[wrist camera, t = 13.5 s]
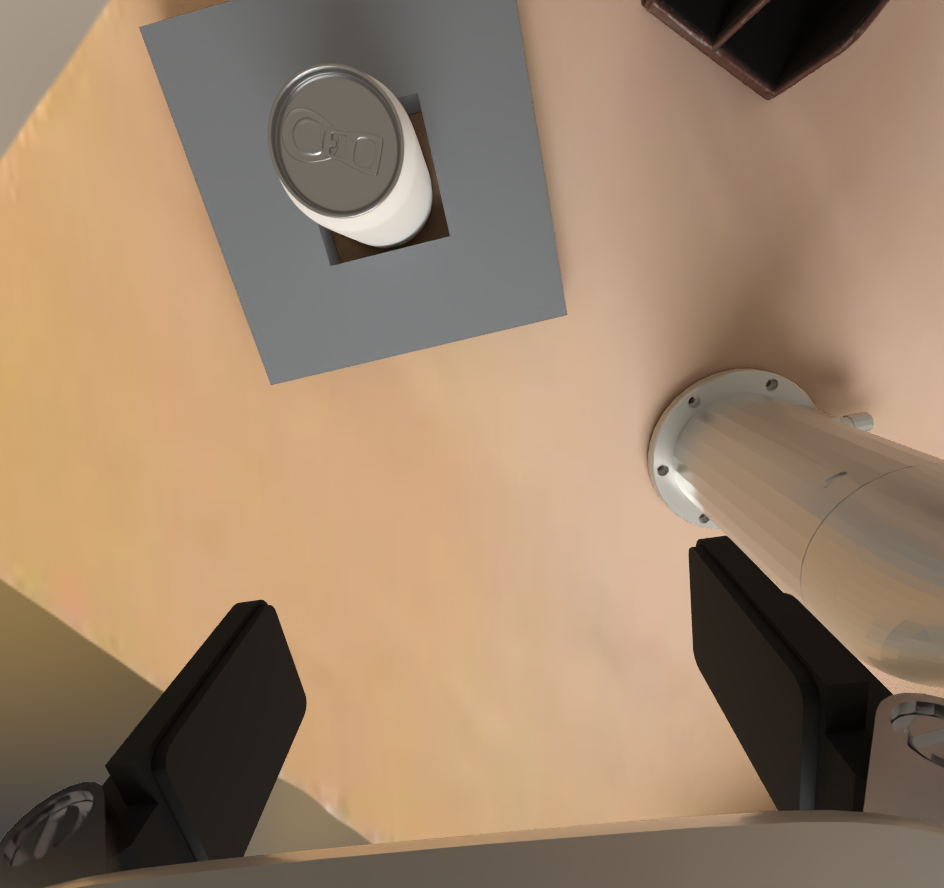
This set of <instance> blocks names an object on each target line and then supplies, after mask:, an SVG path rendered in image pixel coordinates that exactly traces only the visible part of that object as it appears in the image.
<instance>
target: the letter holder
mask: <svg viewBox="0 0 944 888" xmlns="http://www.w3.org/2000/svg"><path fill="white" fill-rule="evenodd" d="M889 1H890V0H642V1H641V2H642V5H643V6H644V7H645V8H646V9H647V10H648V11H649V12H651V13H652V14H653V15H655V16H656V17H657V18H658V19H660V20H661V21H662V22H664V23H665V24H666V25H667V26H669V27H670V28H672V29H673V30H674V31H675V32H676V33H678V34H679V35H680V36H682V37H683V38H685V39H686V40H687V41H689V42H690V43H691V44H692V45H694V46H695V47H697V48H698V49H699V50H700V51H702V52H703V53H704V54H706V55H707V56H709V57H710V58H711V59H712V60H713V61H715V62H717V63H718V64H719V65H720V66H722V67H723V68H725V69H726V70H727V71H729V72H730V73H731V74H732V75H734V76H735V77H736V78H738V79H739V80H741V81H742V82H743V83H744V84H745V85H747V86H749V87H750V88H752V89H753V90H754V91H755V92H757V93H758V94H759V95H761V96H762V97H764V98H765V99H767V100H770V99H772V98H774V97H776V96H777V95H779V94H781V93H783V92H784V91H785V90H787V89H788V88H790V87H791V86H793V85H795V84H796V83H797V82H799V81H800V80H802V79H803V78H804V77H806V76H808V75H809V74H811V73H812V72H814V71H815V70H817V69H818V68H820V67H821V66H822V65H824V64H825V63H827V62H829V61H831V60H832V59H833V58H835V57H837V56H838V55H840V54H841V53H842V52H844V51H845V50H846V49H847V48H848V47H850V46H851V45H852V44H853V43H854V42H855V41H856V40H857V39H858V38H859V37H860V36H861V35H862V34H863V33H864V32H865V30H866V29H867V28H868V27H869V26H870V25H871V23H872V22H873V21H874V20H875V18H876V17H877V16H878V15H879V14H880V12H881V11H882V10H883V9H884V7H885V6H886V5H887V4H888V2H889Z"/></svg>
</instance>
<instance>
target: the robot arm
mask: <svg viewBox="0 0 944 888" xmlns="http://www.w3.org/2000/svg"><path fill="white" fill-rule="evenodd" d="M766 383H767V384H766ZM691 397H692V400H691V402H689V399H690V398H691ZM873 425H874V423H873V419H872V417H871V415H870V414H868V413H867V412H860V413H855V414H850V415H846V416H843V417H841V418H839V417H836V416H833V415H830V414H828V413H825V412H822V411H819V410H816V408H815V405H814V403H813V402H812V401H811V399H810V398H809V396H808V395H807V394H806V392H805V391H804V390H802V389H801V388H800V387H799V386H798V385H797V384H795V383H794V382H792V381H790V380H789V379H787V378H785V377H783V376H781V375H778V374H775V373H771V372H768V371H764V370H757V369H751V368H747V369H731V370H727V371H723V372H718V373H715V374H713V375H710V376H708V377H706V378H703V379H701V380H699V381H698V382H696V383H694V384H693V385H691V386H690V387H688V388H687V389H685V390H684V391H683V392H682V393H681V394H680V395H679V396H677V397H676V398H675V399H674V400H673V401H672V402H671V404H670V405H669V406H668V407H667V409H666V410H665V411H664V412H663V414H662V415H661V417H660V419H659V421H658V423H657V424H656V426H655V428H654V431H653V434H652V437H651V440H650V444H649V451H648V469H649V475H650V478H651V482H652V485H653V487H654V489H655V491H656V492H657V494H658V496H659V497H660V499H661V500H662V501H663V502H664V503H665V505H666V506H667V507H668V508H669V509H670V510H671V511H673V512H674V513H675V514H676V515H677V516H678V517H680V518H682V519H684V520H685V521H687V522H689V523H691V524H694V525H697V526H699V527H703V528H711V529H720V530H721V531H722V532H723V533H725V534H726V535H727V536H720V537H713V538H705V539H699V540H698V541H697V544H696V547H691V548H690V549H689V572H690V592H691V613H692V634H693V651H694V656H695V660H696V663H697V666H698V668H699V670H700V671H701V673H702V675H703V677H704V679H705V680H706V682H707V684H708V686H709V688H710V689H711V691H712V693H713V695H714V697H715V698H716V700H717V702H718V704H719V706H720V707H721V709H722V711H723V713H724V714H725V716H726V718H727V720H728V722H729V723H730V725H731V727H732V729H733V731H734V732H735V734H736V736H737V738H738V740H739V741H740V743H741V745H742V747H743V749H744V750H745V752H746V754H747V756H748V757H749V759H750V761H751V763H752V765H753V766H754V768H755V770H756V772H757V774H758V775H759V777H760V779H761V781H762V783H763V784H764V786H765V788H766V790H767V791H768V793H769V795H770V797H771V799H772V800H773V802H774V804H775V806H776V808H777V809H778V811H766V812H751V813H736V814H721V815H706V816H691V817H676V818H663V819H651V820H640V821H628V822H616V823H605V824H593V825H581V826H569V827H558V828H546V829H534V830H523V831H512V832H501V833H490V834H479V835H468V836H457V837H445V838H434V839H424V840H413V841H402V842H391V843H381V844H370V845H360V846H349V847H338V848H328V849H319V850H308V851H298V852H288V853H278V854H267V855H257V856H247V857H243V856H244V853H245V851H246V849H247V847H248V844H249V842H250V840H251V837H252V835H253V833H254V830H255V828H256V826H257V824H258V821H259V819H260V817H261V814H262V812H263V810H264V807H265V805H266V803H267V800H268V798H269V796H270V793H271V791H272V789H273V787H274V784H275V782H276V780H277V777H278V775H279V773H280V770H281V768H282V766H283V763H284V761H285V759H286V756H287V754H288V752H289V749H290V747H291V745H292V743H293V740H294V738H295V736H296V733H297V731H298V729H299V726H300V724H301V722H302V719H303V717H304V714H305V711H306V696H305V693H304V690H303V687H302V684H301V681H300V678H299V676H298V673H297V670H296V667H295V664H294V661H293V659H292V656H291V653H290V650H289V647H288V644H287V642H286V639H285V636H284V633H283V630H282V627H281V625H280V622H279V619H278V616H277V613H276V611H275V609H274V607H273V606H271V605H268V604H267V603H266V602H265V601H264V600H256V601H249V602H241V603H237V604H235V605H234V606H233V607H232V608H231V610H230V611H229V612H228V613H227V615H226V616H225V617H224V618H223V620H222V621H221V622H220V623H219V625H218V626H217V627H216V628H215V630H214V631H213V632H212V633H211V635H210V636H209V637H208V638H207V640H206V641H205V642H204V643H203V645H202V646H201V647H200V648H199V650H198V651H197V652H196V653H195V654H194V656H193V657H192V658H191V659H190V661H189V662H188V663H187V664H186V666H185V667H184V668H183V669H182V671H181V672H180V673H179V674H178V676H177V677H176V678H175V679H174V681H173V682H172V683H171V684H170V686H169V687H168V688H167V689H166V691H165V692H164V693H163V694H162V696H161V697H160V698H159V699H158V700H157V702H156V703H155V704H154V705H153V707H152V708H151V709H150V710H149V712H148V713H147V714H146V716H145V717H144V718H143V719H142V720H141V722H140V723H139V724H138V725H137V727H136V728H135V729H134V730H133V732H132V733H131V734H130V735H129V737H128V738H127V739H126V740H125V741H124V743H123V744H122V745H121V746H120V748H119V749H118V750H117V751H116V753H115V754H114V755H113V756H112V758H111V759H110V760H109V761H108V763H107V764H106V765H105V767H106V768H107V770H108V772H109V774H110V777H109V778H108V779H107V780H106V782H105V783H104V784H103V786H102V785H100V784H98V783H96V782H81V783H78V784H75V785H71V786H69V787H66V788H64V789H62V790H60V791H58V792H56V793H54V794H52V795H51V796H49V797H48V798H46V799H45V800H43V801H42V802H40V803H39V804H37V805H36V806H35V807H34V808H32V809H31V810H30V811H29V812H27V813H26V814H25V815H24V816H23V817H21V818H20V819H19V820H18V822H16V823H15V824H14V825H13V827H12V828H11V829H10V830H9V831H8V832H7V833H6V834H5V836H4V837H3V838H2V840H1V841H0V888H944V698H940V697H936V696H931V695H927V694H919V693H901V694H896V695H893V694H892V693H891V692H890V691H889V690H888V689H887V688H886V687H885V686H884V685H883V684H882V683H881V682H880V681H879V680H878V679H877V678H876V677H875V676H874V675H873V674H872V673H871V672H870V671H869V670H868V669H867V668H866V667H865V666H864V665H863V664H862V663H861V662H860V661H859V660H858V659H857V658H859V659H860V660H862V661H863V662H865V663H867V664H868V665H870V666H872V667H874V668H876V669H878V670H880V671H882V672H884V673H886V674H889V675H891V676H894V677H897V678H900V679H903V680H906V681H910V682H913V683H917V684H921V685H926V686H930V687H936V688H942V689H944V460H942V459H939V458H937V457H934V456H931V455H929V454H926V453H923V452H920V451H918V450H915V449H912V448H909V447H907V446H904V445H901V444H899V443H896V442H893V441H890V440H888V439H885V438H882V437H880V436H877V435H874V434H871V433H869V432H866V431H870V430H871V429H872V428H873ZM659 466H661V468H659ZM658 468H659V469H658ZM753 561H754V562H755V563H756V564H757V565H758V566H759V567H760V568H761V569H762V570H763V571H764V572H765V573H766V574H767V575H768V576H769V577H770V578H771V579H772V580H773V581H774V582H775V583H776V584H777V585H778V586H779V587H780V588H782V589H783V590H784V591H785V592H786V593H783V592H782V591H781V590H780V589H779V588H778V587H777V586H776V585H775V584H774V583H773V582H772V581H771V580H770V579H769V578H768V577H767V576H766V575H765V574H764V573H763V572H762V571H761V570H760V568H759V567H758V566H757V565H756V564H755V563H754V562H753ZM855 656H856V657H857V658H856V657H855Z"/></svg>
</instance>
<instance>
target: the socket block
mask: <svg viewBox="0 0 944 888" xmlns="http://www.w3.org/2000/svg"><path fill="white" fill-rule="evenodd" d="M139 28H140V31H141V34H142V36H143V39H144V42H145V45H146V47H147V50H148V53H149V55H150V58H151V61H152V64H153V66H154V69H155V72H156V74H157V77H158V80H159V83H160V85H161V88H162V91H163V93H164V96H165V99H166V102H167V104H168V107H169V110H170V112H171V115H172V118H173V121H174V123H175V126H176V129H177V131H178V134H179V137H180V140H181V142H182V145H183V148H184V150H185V153H186V156H187V159H188V161H189V164H190V167H191V169H192V172H193V175H194V178H195V180H196V183H197V186H198V188H199V191H200V194H201V197H202V199H203V202H204V205H205V207H206V210H207V213H208V216H209V218H210V221H211V224H212V226H213V229H214V232H215V235H216V237H217V240H218V243H219V245H220V248H221V251H222V254H223V256H224V259H225V262H226V264H227V267H228V270H229V272H230V275H231V278H232V281H233V283H234V286H235V289H236V291H237V294H238V297H239V300H240V302H241V305H242V308H243V310H244V313H245V316H246V319H247V321H248V324H249V327H250V329H251V332H252V335H253V338H254V340H255V343H256V346H257V348H258V351H259V354H260V357H261V359H262V362H263V365H264V367H265V370H266V373H267V376H268V378H269V381H270V384H271V385H274V384H278V383H282V382H286V381H291V380H295V379H299V378H303V377H307V376H312V375H316V374H320V373H324V372H329V371H333V370H337V369H341V368H345V367H350V366H354V365H358V364H362V363H367V362H371V361H375V360H379V359H383V358H388V357H392V356H396V355H400V354H405V353H409V352H413V351H417V350H421V349H426V348H430V347H434V346H438V345H442V344H447V343H451V342H455V341H459V340H464V339H468V338H472V337H476V336H480V335H485V334H489V333H493V332H497V331H502V330H506V329H510V328H514V327H518V326H523V325H527V324H531V323H535V322H540V321H544V320H548V319H552V318H556V317H561V316H565V315H567V310H566V304H565V298H564V292H563V286H562V280H561V273H560V267H559V261H558V255H557V249H556V243H555V237H554V231H553V224H552V218H551V212H550V206H549V200H548V194H547V188H546V182H545V175H544V169H543V163H542V157H541V151H540V145H539V139H538V133H537V126H536V120H535V114H534V108H533V102H532V96H531V90H530V84H529V77H528V71H527V65H526V59H525V53H524V47H523V41H522V35H521V28H520V22H519V16H518V10H517V4H516V0H231V1H228V2H224V3H221V4H217V5H214V6H211V7H207V8H204V9H200V10H197V11H193V12H190V13H186V14H183V15H180V16H176V17H173V18H169V19H166V20H162V21H159V22H155V23H152V24H149V25H145V26H142V27H139ZM323 63H336V64H343V65H347V66H350V67H353V68H355V69H357V70H359V71H361V72H363V73H365V74H367V75H369V76H371V77H373V78H375V79H376V80H378V81H379V82H381V83H382V84H383V85H384V86H386V87H387V88H388V89H389V90H390V91H391V92H392V93H393V94H394V96H395V97H396V98H397V99H398V101H399V102H400V103H401V105H402V106H403V108H404V109H405V111H406V113H407V115H409V114H413V113H416V112H420V111H422V115H423V119H424V124H425V128H426V132H427V137H428V141H429V146H430V150H431V154H432V159H433V163H434V168H435V172H436V177H437V181H438V185H439V190H440V194H441V199H442V203H443V207H444V212H445V216H446V221H447V225H448V229H449V234H450V236H449V237H445V238H441V239H437V240H433V241H429V242H425V243H421V244H417V245H413V246H409V247H405V248H401V249H397V250H393V251H389V252H385V253H381V254H377V255H373V256H369V257H365V258H361V259H357V260H353V261H349V262H345V263H341V261H340V258H339V254H338V251H337V248H336V244H335V241H334V238H333V234H332V231H331V230H330V229H328V228H326V227H324V226H322V225H320V224H318V223H316V222H315V221H313V220H312V219H310V218H309V217H308V216H307V215H306V214H304V213H303V212H302V211H301V210H300V209H299V208H298V207H297V206H296V205H295V204H294V202H293V201H292V200H291V198H290V197H289V196H288V194H287V192H286V191H285V189H284V187H283V185H282V183H281V181H280V178H279V176H278V174H277V172H276V170H275V168H274V165H273V162H272V159H271V155H270V151H269V144H268V123H269V117H270V113H271V109H272V106H273V104H274V101H275V99H276V97H277V95H278V93H279V92H280V90H281V89H282V87H283V86H284V85H285V84H286V83H287V81H288V80H289V79H291V78H292V77H293V76H294V75H295V74H297V73H298V72H300V71H302V70H303V69H305V68H308V67H310V66H313V65H317V64H323Z"/></svg>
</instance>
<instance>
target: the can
mask: <svg viewBox="0 0 944 888" xmlns="http://www.w3.org/2000/svg"><path fill="white" fill-rule="evenodd" d="M268 144H269V151H270V155H271V159H272V162H273V165H274V168H275V170H276V172H277V174H278V176H279V178H280V181H281V183H282V185H283V187H284V189H285V191H286V192H287V194H288V196H289V197H290V198H291V200H292V201H293V202H294V204H295V205H296V206H297V207H298V208H299V209H300V210H301V211H302V212H303V213H304V214H306V215H307V216H308V217H309V218H310V219H312V220H313V221H315V222H316V223H318V224H320V225H322V226H324V227H326V228H328V229H330V230H332V231H335V232H337V233H339V234H342V235H344V236H347V237H349V238H352V239H354V240H356V241H359V242H362V243H364V244H367V245H370V246H374V247H378V248H392V247H397V246H400V245H403V244H405V243H407V242H409V241H410V240H412V239H413V238H414V237H415V236H416V235H417V234H418V233H419V232H420V231H421V230H422V228H423V227H424V225H425V224H426V222H427V220H428V217H429V215H430V212H431V207H432V199H433V191H432V183H431V179H430V175H429V172H428V169H427V166H426V163H425V160H424V157H423V154H422V151H421V148H420V145H419V142H418V139H417V136H416V134H415V131H414V128H413V126H412V123H411V121H410V119H409V117H408V115H407V113H406V111H405V109H404V108H403V106H402V105H401V103H400V102H399V101H398V99H397V98H396V97H395V96H394V94H393V93H392V92H391V91H390V90H389V89H388V88H387V87H386V86H384V85H383V84H382V83H381V82H379V81H378V80H376V79H375V78H373V77H371V76H369V75H367V74H365V73H363V72H361V71H359V70H357V69H355V68H353V67H350V66H347V65H343V64H336V63H323V64H317V65H313V66H310V67H308V68H305V69H303V70H302V71H300V72H298V73H297V74H295V75H294V76H293V77H292V78H291V79H289V80H288V81H287V83H286V84H285V85H284V86H283V87H282V89H281V90H280V92H279V93H278V95H277V97H276V99H275V101H274V104H273V106H272V109H271V113H270V117H269V123H268Z"/></svg>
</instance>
